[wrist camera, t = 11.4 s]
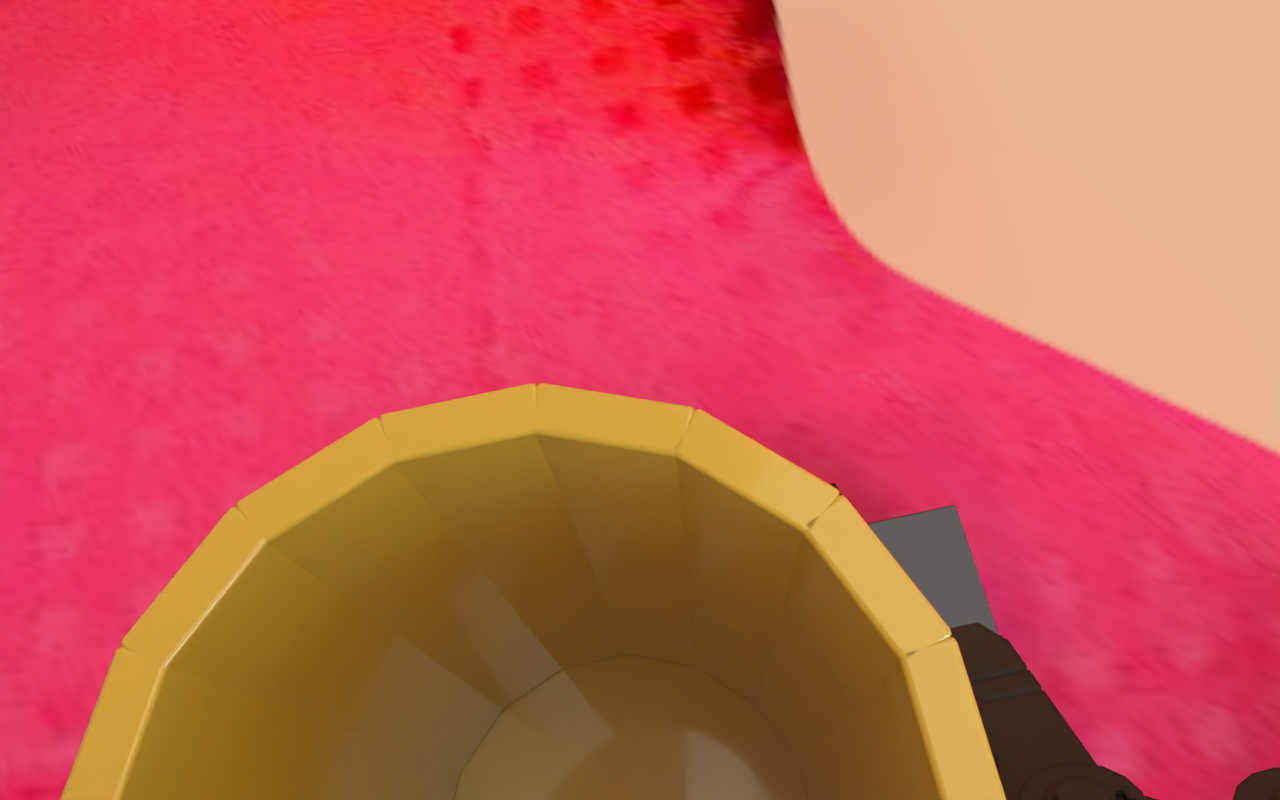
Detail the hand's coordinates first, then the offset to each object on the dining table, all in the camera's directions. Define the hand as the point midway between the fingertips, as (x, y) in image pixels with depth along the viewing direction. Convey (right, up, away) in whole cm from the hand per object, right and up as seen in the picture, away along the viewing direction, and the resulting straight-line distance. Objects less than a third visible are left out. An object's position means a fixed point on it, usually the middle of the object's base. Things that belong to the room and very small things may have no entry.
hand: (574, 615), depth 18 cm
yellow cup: (+1, -4, +2) cm, 5 cm away
